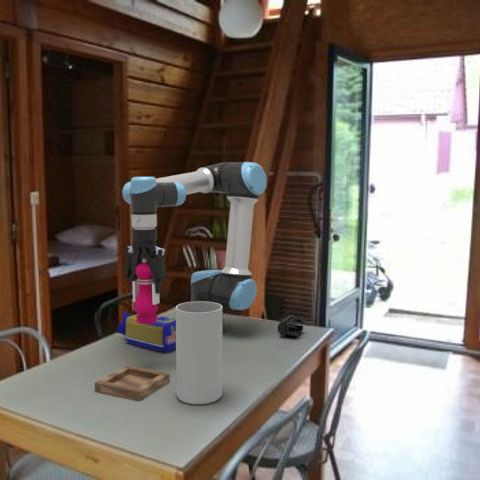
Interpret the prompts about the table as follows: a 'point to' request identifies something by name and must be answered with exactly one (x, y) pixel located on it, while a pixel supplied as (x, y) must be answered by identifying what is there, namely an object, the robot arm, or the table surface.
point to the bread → (149, 333)
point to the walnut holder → (132, 383)
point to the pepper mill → (145, 295)
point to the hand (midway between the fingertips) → (146, 302)
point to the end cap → (290, 327)
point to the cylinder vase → (199, 352)
